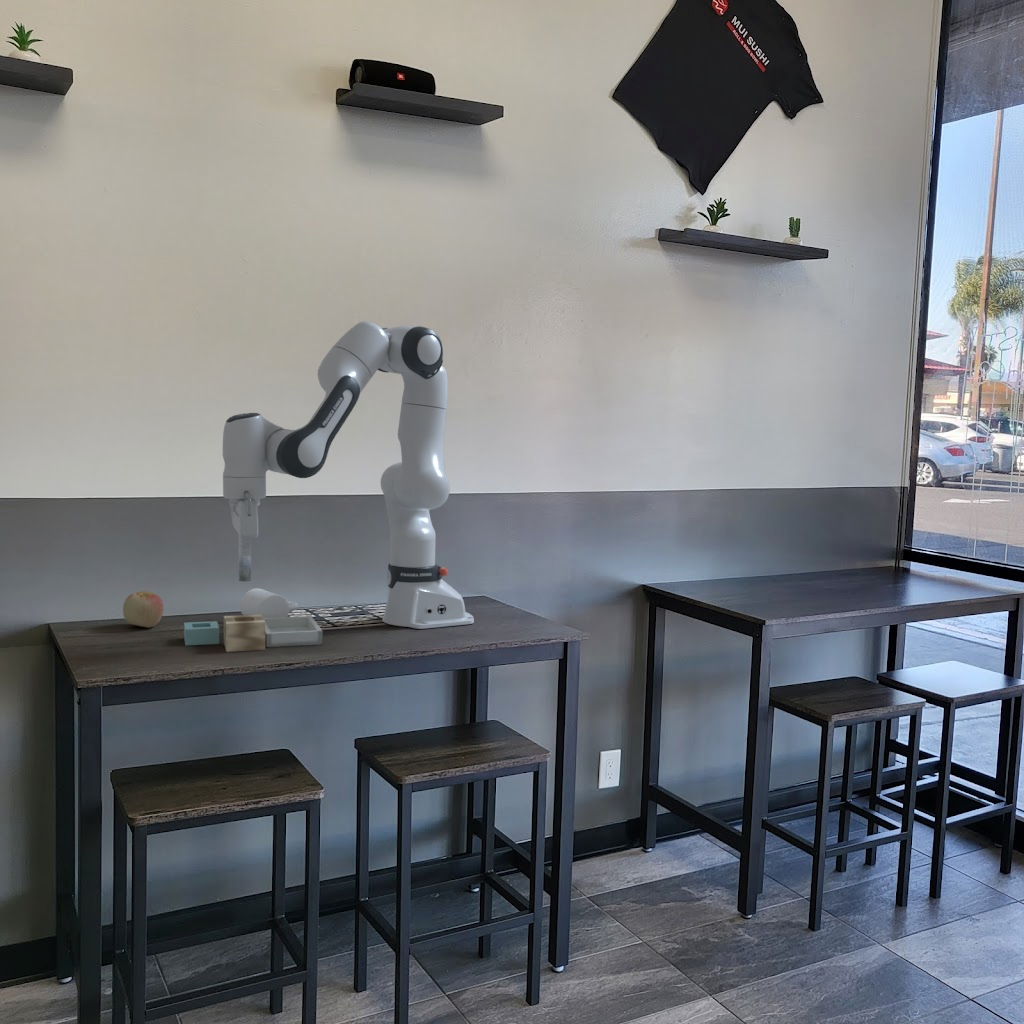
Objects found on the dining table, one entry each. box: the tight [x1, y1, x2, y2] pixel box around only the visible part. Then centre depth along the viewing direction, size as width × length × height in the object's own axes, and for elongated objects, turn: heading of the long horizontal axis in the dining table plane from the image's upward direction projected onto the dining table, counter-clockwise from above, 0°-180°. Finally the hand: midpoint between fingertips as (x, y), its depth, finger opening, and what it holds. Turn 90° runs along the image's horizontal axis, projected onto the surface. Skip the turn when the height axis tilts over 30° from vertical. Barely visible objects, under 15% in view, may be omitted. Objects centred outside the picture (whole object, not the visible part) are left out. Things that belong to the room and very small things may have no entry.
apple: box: [122, 590, 165, 628], centre depth 230 cm, size 9×9×8 cm
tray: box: [263, 615, 323, 648], centre depth 224 cm, size 12×16×3 cm
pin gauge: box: [238, 535, 252, 582], centre depth 213 cm, size 3×3×12 cm
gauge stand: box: [183, 620, 220, 646], centre depth 219 cm, size 7×7×4 cm
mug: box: [239, 587, 299, 618], centre depth 238 cm, size 12×10×8 cm
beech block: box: [223, 614, 266, 653], centre depth 215 cm, size 8×8×6 cm
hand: (245, 553), depth 213 cm, fingers closed on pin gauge, 3 cm apart
